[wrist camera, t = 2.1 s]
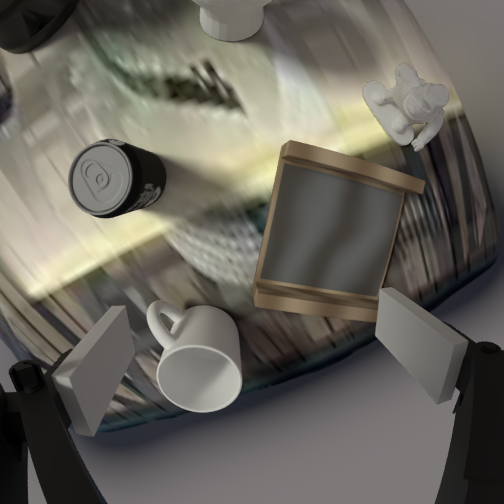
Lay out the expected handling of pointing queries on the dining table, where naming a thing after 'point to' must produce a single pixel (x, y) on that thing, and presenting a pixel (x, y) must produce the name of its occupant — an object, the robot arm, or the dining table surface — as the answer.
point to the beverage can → (115, 178)
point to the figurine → (407, 106)
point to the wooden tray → (329, 233)
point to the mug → (197, 356)
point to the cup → (231, 18)
